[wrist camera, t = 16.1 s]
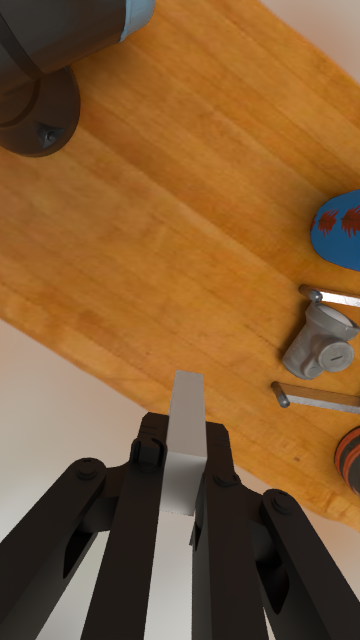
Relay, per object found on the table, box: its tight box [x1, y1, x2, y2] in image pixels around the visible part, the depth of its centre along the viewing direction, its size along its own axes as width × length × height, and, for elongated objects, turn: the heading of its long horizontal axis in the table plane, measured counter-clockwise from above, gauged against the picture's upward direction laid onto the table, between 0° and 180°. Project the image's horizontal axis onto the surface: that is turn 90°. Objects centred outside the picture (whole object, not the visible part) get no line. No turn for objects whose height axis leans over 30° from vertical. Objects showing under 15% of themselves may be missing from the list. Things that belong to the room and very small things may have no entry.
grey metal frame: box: [271, 285, 360, 414], centre depth 52 cm, size 18×20×6 cm
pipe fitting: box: [282, 301, 360, 380], centre depth 50 cm, size 12×8×10 cm
